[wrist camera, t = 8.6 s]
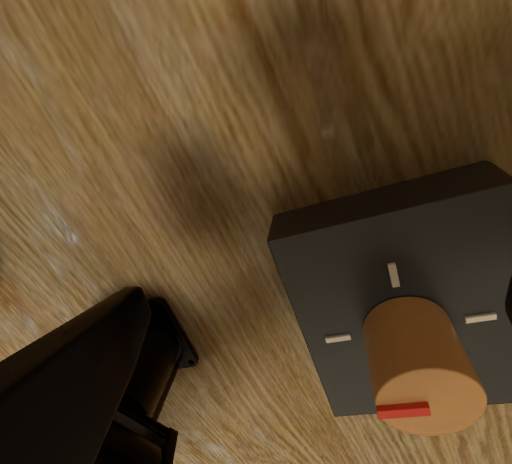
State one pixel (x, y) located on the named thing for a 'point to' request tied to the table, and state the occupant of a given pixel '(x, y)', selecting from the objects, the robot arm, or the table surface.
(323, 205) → the panel
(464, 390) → the knob
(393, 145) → the table surface
